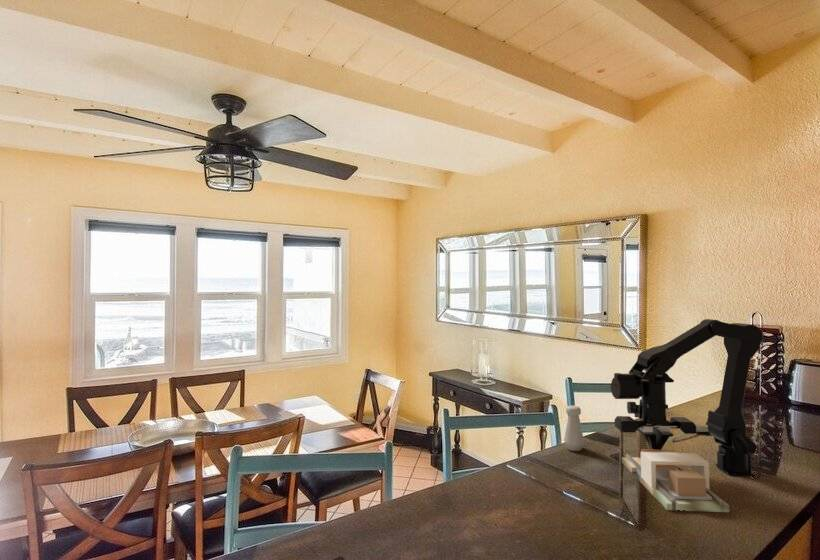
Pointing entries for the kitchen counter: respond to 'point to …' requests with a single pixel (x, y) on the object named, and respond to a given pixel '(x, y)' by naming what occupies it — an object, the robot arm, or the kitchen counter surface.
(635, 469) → the track deck
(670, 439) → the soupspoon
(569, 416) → the salt shaker
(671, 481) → the sled
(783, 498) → the kitchen counter surface
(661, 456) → the tunnel
